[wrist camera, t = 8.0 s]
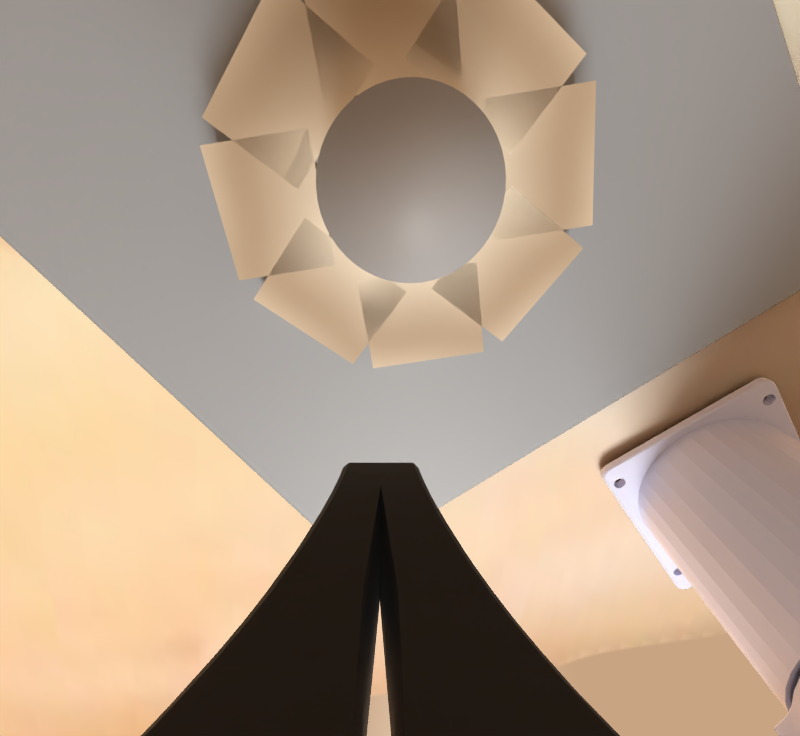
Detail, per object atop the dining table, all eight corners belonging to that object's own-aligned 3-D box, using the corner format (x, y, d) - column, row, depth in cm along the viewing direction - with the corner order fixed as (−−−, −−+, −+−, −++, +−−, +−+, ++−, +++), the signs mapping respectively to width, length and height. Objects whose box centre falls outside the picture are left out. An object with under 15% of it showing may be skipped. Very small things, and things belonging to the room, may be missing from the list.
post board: (837, 255, 17) (1016, 284, 12) (352, 551, 22) (343, 654, 17) (526, -704, 9) (689, -1711, 4) (-127, 102, 14) (-395, 60, 9)
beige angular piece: (576, 325, 17) (662, 390, 12) (276, 371, 17) (230, 453, 12) (583, -362, 10) (790, -918, 5) (96, -270, 10) (-183, -708, 5)
